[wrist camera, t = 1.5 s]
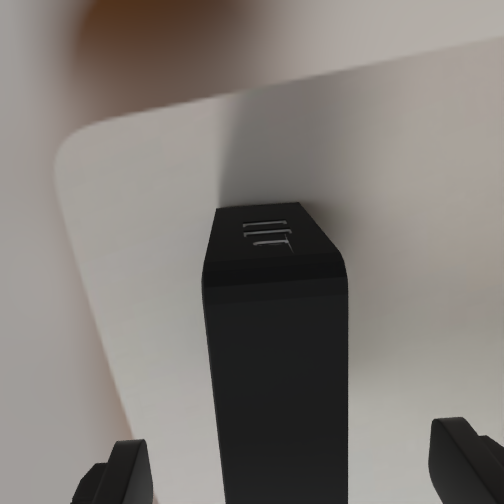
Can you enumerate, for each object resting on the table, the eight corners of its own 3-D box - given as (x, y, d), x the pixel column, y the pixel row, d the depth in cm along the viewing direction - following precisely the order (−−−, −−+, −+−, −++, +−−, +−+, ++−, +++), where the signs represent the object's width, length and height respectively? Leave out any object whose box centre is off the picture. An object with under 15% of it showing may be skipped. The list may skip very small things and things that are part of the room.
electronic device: (297, 198, 21) (352, 261, 11) (304, 370, 24) (350, 536, 14) (215, 204, 20) (197, 273, 11) (231, 375, 23) (229, 547, 14)
